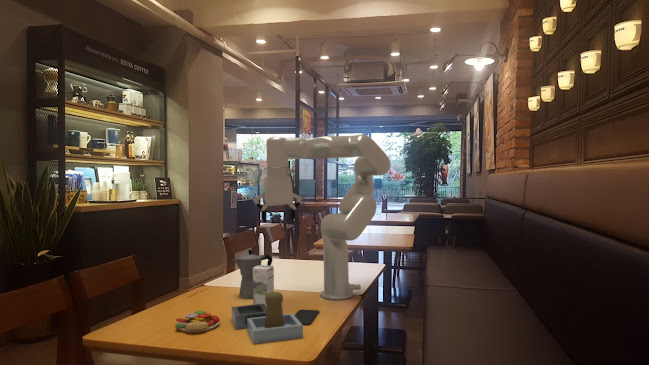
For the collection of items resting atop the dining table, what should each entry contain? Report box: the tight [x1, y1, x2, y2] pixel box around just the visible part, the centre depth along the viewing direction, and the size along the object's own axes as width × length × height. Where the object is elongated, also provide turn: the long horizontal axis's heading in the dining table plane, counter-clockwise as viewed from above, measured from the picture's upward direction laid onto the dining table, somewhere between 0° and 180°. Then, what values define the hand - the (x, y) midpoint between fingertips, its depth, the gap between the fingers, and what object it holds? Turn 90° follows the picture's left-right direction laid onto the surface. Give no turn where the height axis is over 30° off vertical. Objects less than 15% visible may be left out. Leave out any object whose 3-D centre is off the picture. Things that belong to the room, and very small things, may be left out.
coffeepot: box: [233, 249, 273, 300], centre depth 171 cm, size 15×9×18 cm, turn 113°
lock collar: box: [231, 304, 267, 330], centre depth 142 cm, size 17×15×4 cm
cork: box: [265, 291, 284, 328], centre depth 128 cm, size 6×6×11 cm
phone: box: [294, 309, 320, 327], centre depth 143 cm, size 7×1×15 cm
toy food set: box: [175, 310, 221, 334], centre depth 136 cm, size 13×13×3 cm
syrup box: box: [252, 264, 275, 305], centre depth 155 cm, size 6×6×14 cm
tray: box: [246, 313, 304, 345], centre depth 128 cm, size 14×12×4 cm
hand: (278, 221), depth 154 cm, fingers open, 9 cm apart
